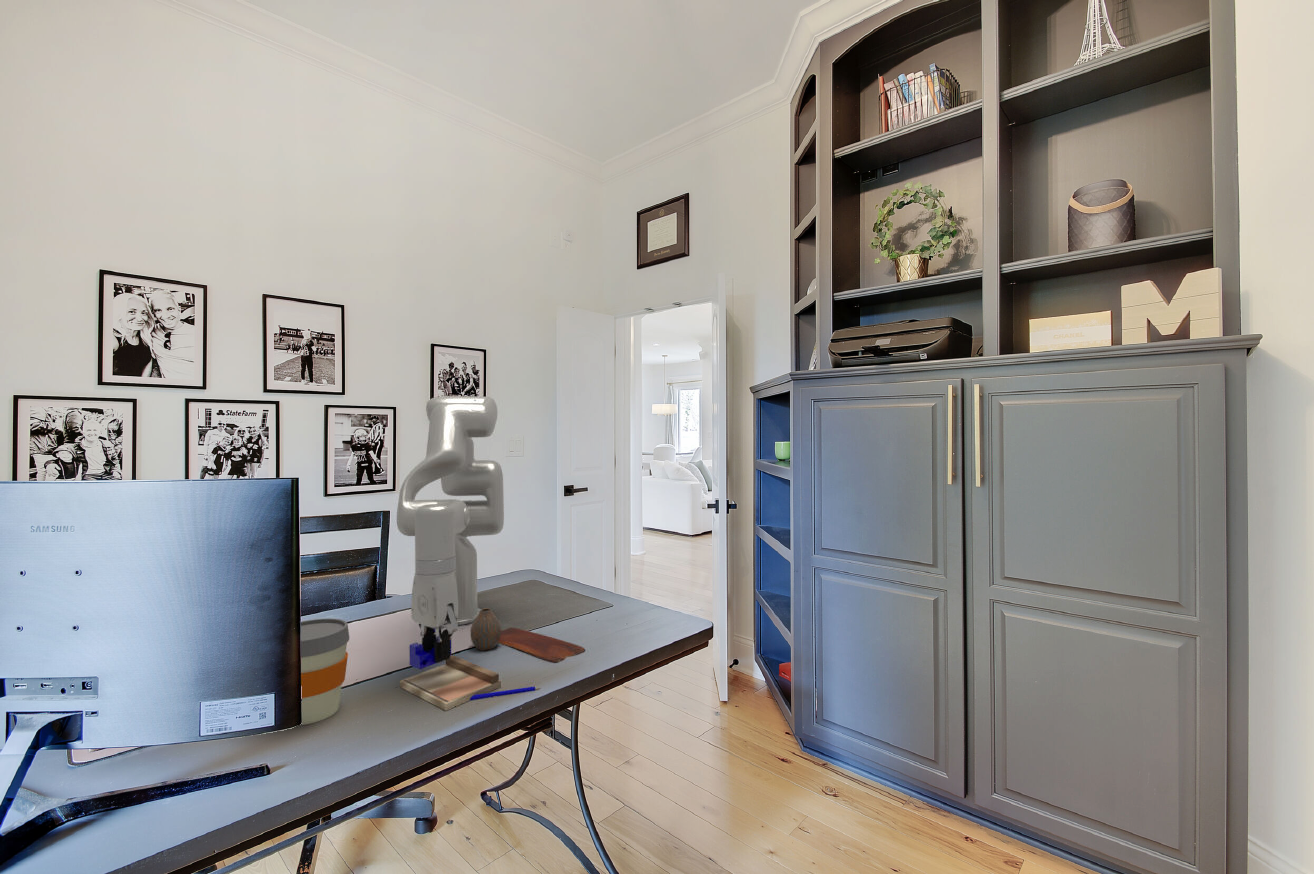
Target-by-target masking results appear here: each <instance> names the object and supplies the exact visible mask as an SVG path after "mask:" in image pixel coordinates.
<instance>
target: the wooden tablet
mask: <svg viewBox="0 0 1314 874" xmlns="http://www.w3.org/2000/svg"><path fill="white" fill-rule="evenodd" d="M498 644H501V645H503V646H506V647H509V646H510V647H511V648H512V647H513V648H512V649H516V650H519V651H522V652H525V653H526V654H529V655H532V656H534V657H536V658H538V657H539V659H542V660H543V661H547V662H551V663H553V664H557V663H558V664H559V663H560V662H562V661H564V660H566V659H567V658H570V657H574V656H575V657H576V656H578V655H581V654H583V653H585V650H586V649H585V647H584V646H581V645H578V644H576V643H572V642H568V641H566V640H562V639H558V638H556V637H552V636H548V635H545V634H541V633H538V632H533V631H528V630H525V629H522V628H517V627H513V626H512V627H508V628H505V629H501V637H500V640H499V642H498Z"/></svg>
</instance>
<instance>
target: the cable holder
mask: <svg viewBox="0 0 1314 874" xmlns="http://www.w3.org/2000/svg"><path fill="white" fill-rule="evenodd" d="M408 648H409V649H408V650H409V666H411V667H413V668H415V669H418V670H422V669H425V668H428V667H430V666H433V665H436V664H437V663H436V662H435V661H434V648H433V649H431V650H430V651H427V652H425V651H424V649H423V646H422V643H419V642H413V643H410V644H409V647H408ZM450 655H452V639H450Z"/></svg>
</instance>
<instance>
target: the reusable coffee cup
mask: <svg viewBox="0 0 1314 874" xmlns="http://www.w3.org/2000/svg"><path fill="white" fill-rule="evenodd" d="M300 622H301V686H302V725H301V726H304V725H305V726H306V725H310V724H314V723H317V722H321V721H323V720H325V719H328V718H329V717H331V716H333V715H334V714H336V713H337V711H338V710H339V708H340V702H341V693H342V686H343V683H344V682H345V681H346V672H347V666H348V659H349V653H348V651H347V647H348V646H347V645H348V642H349V641H350V632H349V631H350V630H349V625H348V624H349V623H348V622H347V621H346V620H344V619H340V618H314V619H309V620H302V621H300Z"/></svg>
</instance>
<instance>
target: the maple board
mask: <svg viewBox="0 0 1314 874" xmlns="http://www.w3.org/2000/svg"><path fill="white" fill-rule="evenodd" d="M499 676H500V674H499V673H498V672H494V671H493V670H490V669H488V668H485V667H482V666H480V665H478V664H475V663H472V662H471V661H468V660H466V659H463V658H461V657H458V656H455V655H453V654H451V655H450V658H449V659H447V660H445V664H442V665H440V666H436V667H433V668H431V669H428V670H426V671H423V672H419V673H418V674H414V675H413V676H410V677H406V678H404V679H401V680H400V681H399V687H400V688H401V689H404V690H405V691H407V692H409V693H411V694H413V695H415V696H416V697H418V696H419V698H421V699H422V700H425V701H426V702H428V703H430V704H432V705H434V706H435V707H438V708H440V709H442V710H443V711H446V712H447V711H448V710H451V709H453V708H456V707H458V706H460V705H462V703H463V704H464V703H468V702H470V701H471V700H470V698H471V697H472V696H473V695H479V694H485V693H491V692H493V691H495V690H497V689H498V688H501V687H502V680H501V679H499ZM455 706H456V707H455Z"/></svg>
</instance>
